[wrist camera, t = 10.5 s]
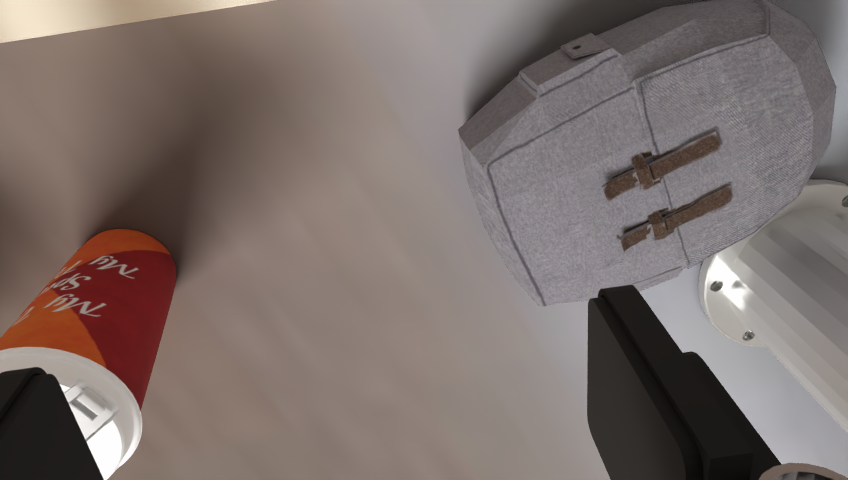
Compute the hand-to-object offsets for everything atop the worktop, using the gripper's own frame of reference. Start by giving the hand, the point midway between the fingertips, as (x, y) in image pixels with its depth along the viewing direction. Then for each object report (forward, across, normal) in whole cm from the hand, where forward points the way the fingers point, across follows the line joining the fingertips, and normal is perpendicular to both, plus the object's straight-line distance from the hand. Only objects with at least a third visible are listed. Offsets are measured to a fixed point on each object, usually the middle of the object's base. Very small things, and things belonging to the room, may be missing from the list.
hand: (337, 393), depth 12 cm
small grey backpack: (+28, -15, +6) cm, 32 cm away
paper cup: (+26, +15, +10) cm, 32 cm away
